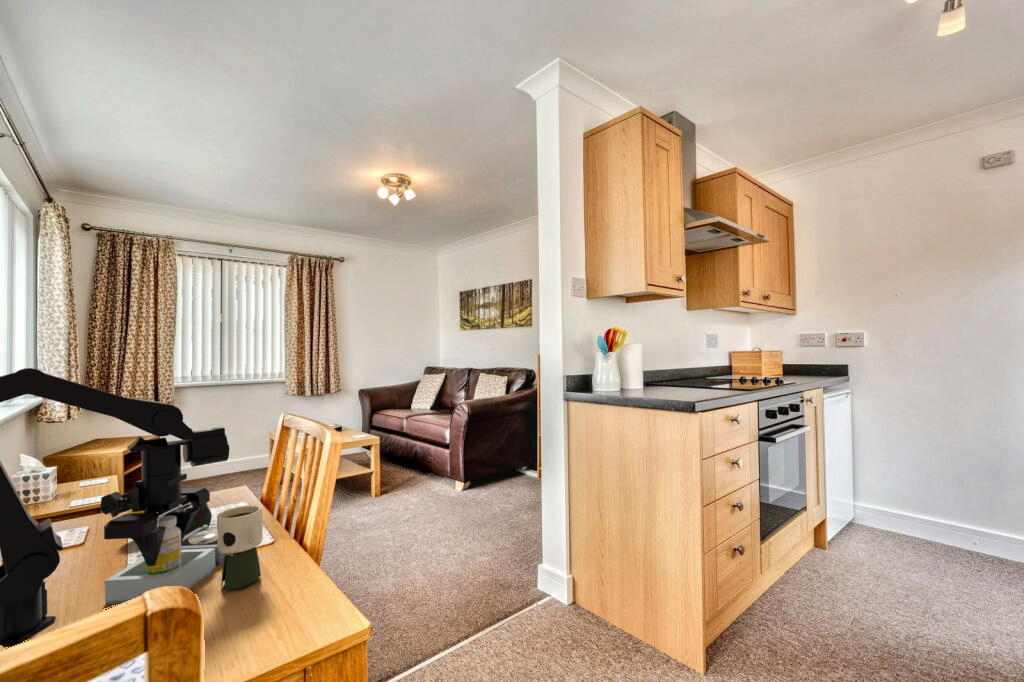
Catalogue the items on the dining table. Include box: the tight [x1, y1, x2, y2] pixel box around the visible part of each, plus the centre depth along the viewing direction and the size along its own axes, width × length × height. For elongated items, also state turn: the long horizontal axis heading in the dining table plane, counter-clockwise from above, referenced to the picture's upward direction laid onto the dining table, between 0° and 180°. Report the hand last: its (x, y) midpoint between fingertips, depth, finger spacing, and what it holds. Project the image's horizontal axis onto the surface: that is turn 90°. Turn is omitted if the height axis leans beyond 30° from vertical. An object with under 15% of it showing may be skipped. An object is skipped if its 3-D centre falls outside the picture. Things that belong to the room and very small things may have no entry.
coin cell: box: [188, 529, 219, 546], centre depth 97 cm, size 7×7×2 cm
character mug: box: [216, 504, 264, 590], centre depth 84 cm, size 11×7×13 cm, turn 58°
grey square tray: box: [181, 525, 226, 566], centre depth 97 cm, size 11×11×4 cm
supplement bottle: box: [145, 516, 181, 576], centre depth 84 cm, size 5×5×10 cm
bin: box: [104, 548, 216, 605], centre depth 84 cm, size 11×11×4 cm
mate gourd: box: [185, 502, 213, 536], centre depth 108 cm, size 7×8×10 cm
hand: (163, 558), depth 84 cm, fingers closed on supplement bottle, 5 cm apart
